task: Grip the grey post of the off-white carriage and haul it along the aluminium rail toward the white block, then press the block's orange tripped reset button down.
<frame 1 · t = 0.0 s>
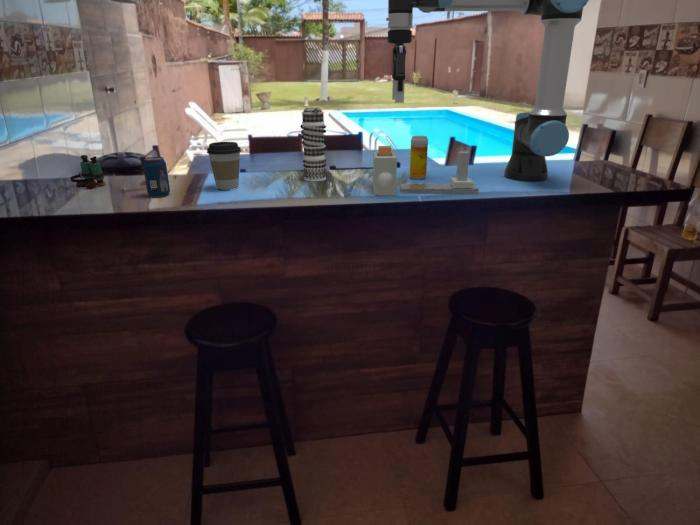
hand: (397, 101, 162), 28 cm above the table, fingers open, 13 cm apart
carriage: (462, 169, 163), point 7 cm above the table, slide at 0.0 cm
white block: (384, 190, 166), on the table
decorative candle: (315, 179, 184), on the table
reset button: (384, 154, 161), point 12 cm above the table, slide at 0.0 cm
binoculars: (89, 187, 174), on the table
soda can: (159, 195, 162), on the table
coffee cup: (227, 188, 171), on the table
rail: (438, 190, 166), on the table
beer can: (417, 178, 184), on the table
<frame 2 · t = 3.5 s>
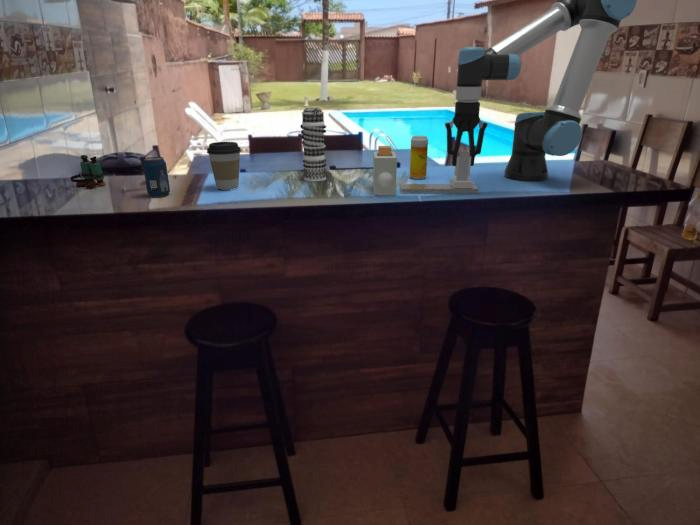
hand: (461, 175, 164), 5 cm above the table, fingers closed on carriage, 3 cm apart
carriage: (462, 169, 163), point 7 cm above the table, slide at 0.0 cm, touching gripper
everything else where it was.
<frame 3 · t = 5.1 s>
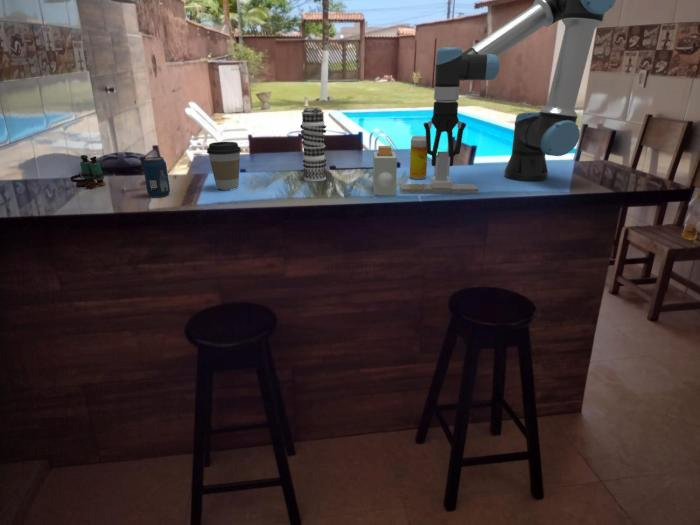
hand: (441, 175, 164), 5 cm above the table, fingers closed on carriage, 3 cm apart
carriage: (441, 169, 163), point 7 cm above the table, slide at 6.7 cm, touching gripper
everything else where it was.
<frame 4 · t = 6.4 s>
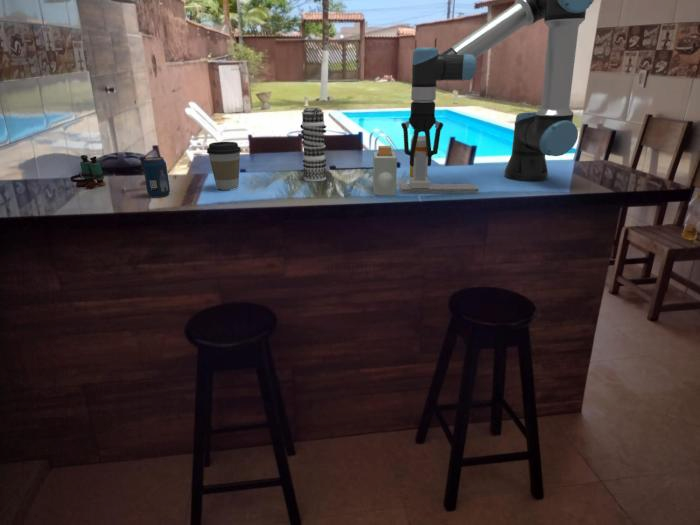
hand: (419, 175, 164), 5 cm above the table, fingers closed on carriage, 3 cm apart
carriage: (420, 169, 163), point 7 cm above the table, slide at 13.9 cm, touching gripper
everything else where it was.
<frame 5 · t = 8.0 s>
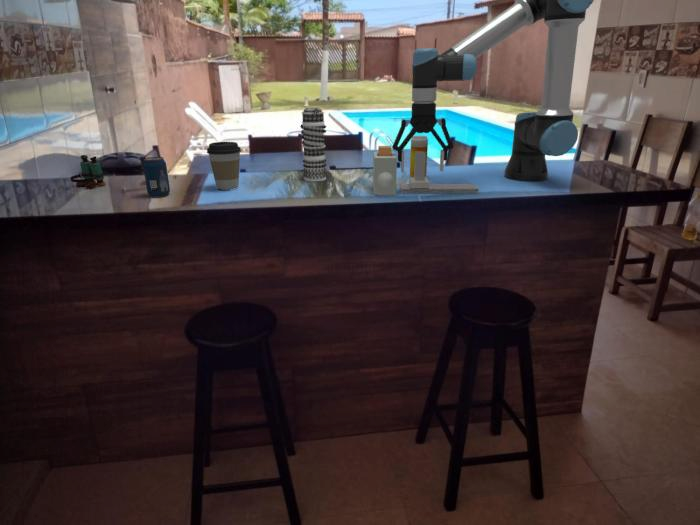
hand: (421, 171, 163), 7 cm above the table, fingers open, 12 cm apart
carriage: (419, 169, 163), point 7 cm above the table, slide at 14.0 cm
everything else where it was.
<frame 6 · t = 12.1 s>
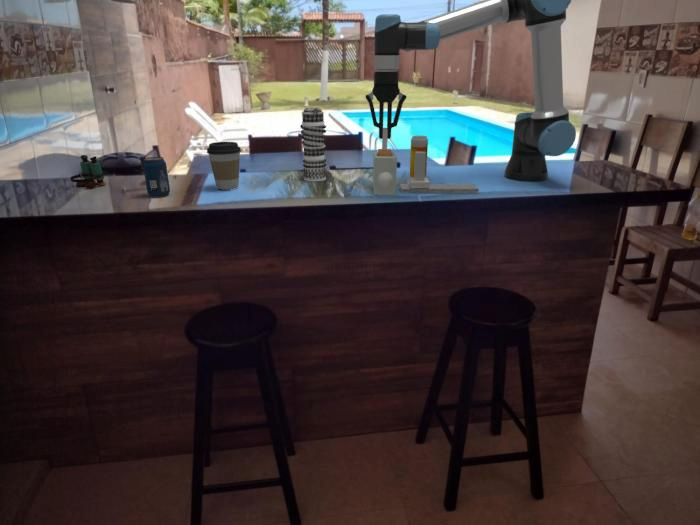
hand: (384, 149, 161), 14 cm above the table, fingers closed
reset button: (384, 157, 162), point 11 cm above the table, slide at 1.0 cm, touching gripper
everything else where it was.
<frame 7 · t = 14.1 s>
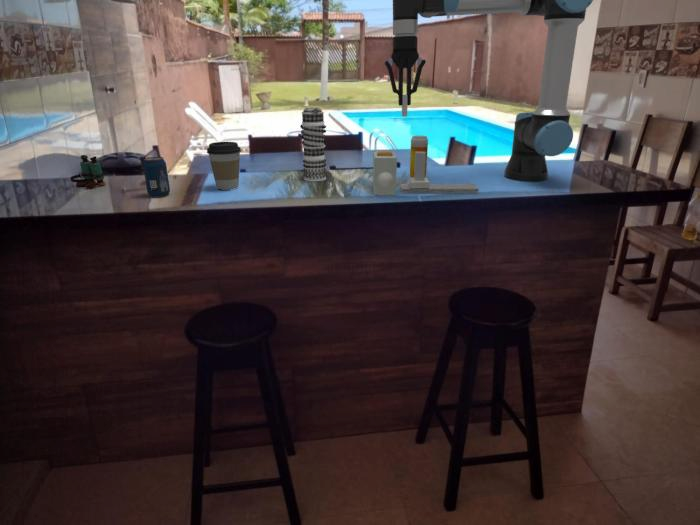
hand: (404, 116, 161), 24 cm above the table, fingers closed
reset button: (384, 159, 162), point 11 cm above the table, slide at 1.5 cm
everything else where it was.
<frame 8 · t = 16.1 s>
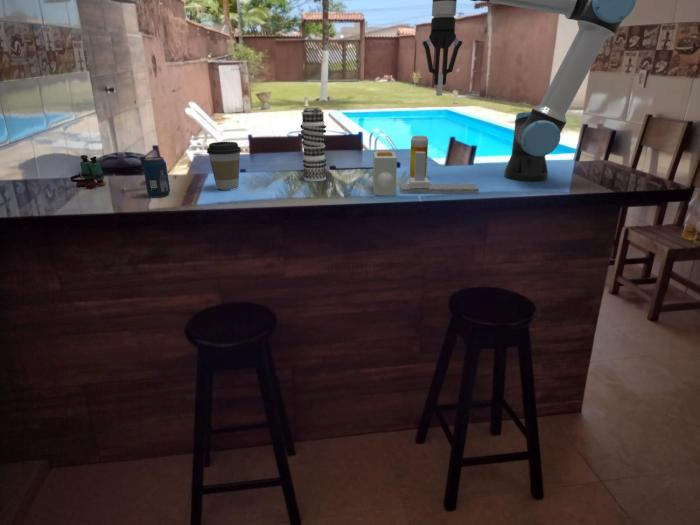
hand: (439, 95, 167), 29 cm above the table, fingers closed
nothing on the table moved.
at the end: carriage slide at 14.0 cm; reset button slide at 1.5 cm; the gripper is holding nothing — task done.
